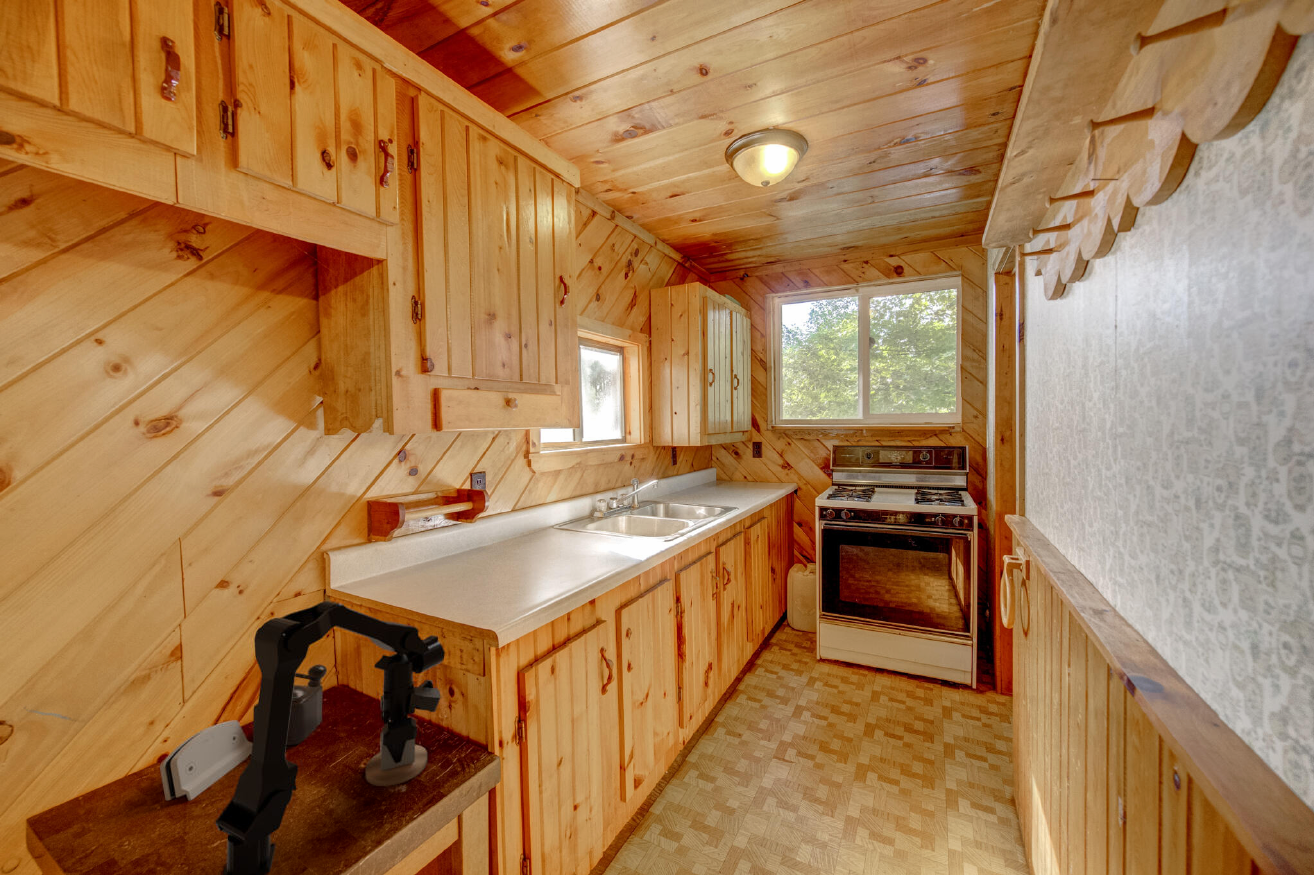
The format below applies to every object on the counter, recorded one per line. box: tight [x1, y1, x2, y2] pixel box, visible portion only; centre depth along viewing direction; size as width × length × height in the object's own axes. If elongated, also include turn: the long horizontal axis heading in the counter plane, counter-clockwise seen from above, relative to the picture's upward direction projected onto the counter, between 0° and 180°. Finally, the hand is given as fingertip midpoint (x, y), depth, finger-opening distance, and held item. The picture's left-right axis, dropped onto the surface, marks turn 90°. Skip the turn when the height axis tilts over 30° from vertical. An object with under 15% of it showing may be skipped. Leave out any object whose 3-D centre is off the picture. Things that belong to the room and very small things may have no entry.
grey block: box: [379, 730, 416, 771], centre depth 112 cm, size 6×6×5 cm
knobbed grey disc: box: [365, 744, 428, 787], centre depth 112 cm, size 12×12×5 cm
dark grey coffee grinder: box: [252, 664, 328, 746], centre depth 124 cm, size 16×11×18 cm
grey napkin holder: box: [159, 719, 253, 801], centre depth 109 cm, size 17×5×10 cm, turn 179°
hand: (397, 753), depth 112 cm, fingers closed on grey block, 6 cm apart
